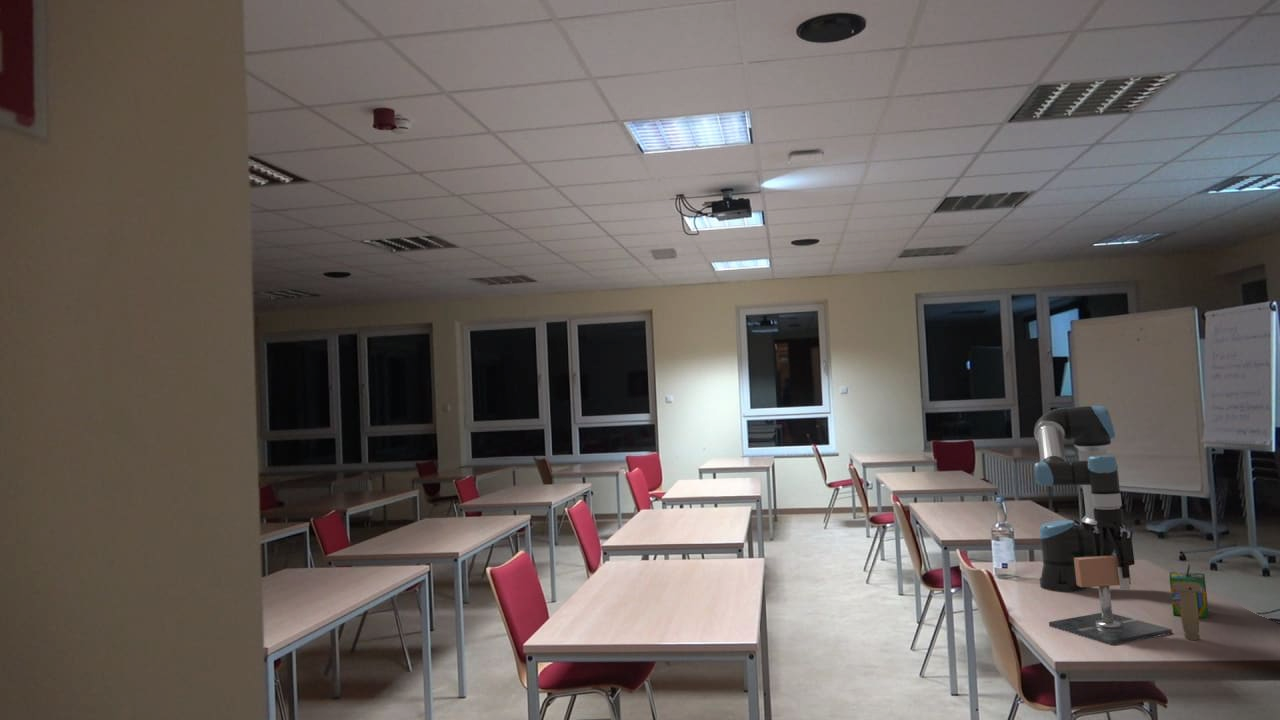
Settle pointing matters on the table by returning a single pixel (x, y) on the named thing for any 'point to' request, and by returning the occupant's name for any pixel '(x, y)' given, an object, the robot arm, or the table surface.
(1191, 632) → the handle
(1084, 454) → the robot arm
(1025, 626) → the table surface
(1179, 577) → the chalk box
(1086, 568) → the pink plank with tab
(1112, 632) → the post stand
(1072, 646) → the table surface
